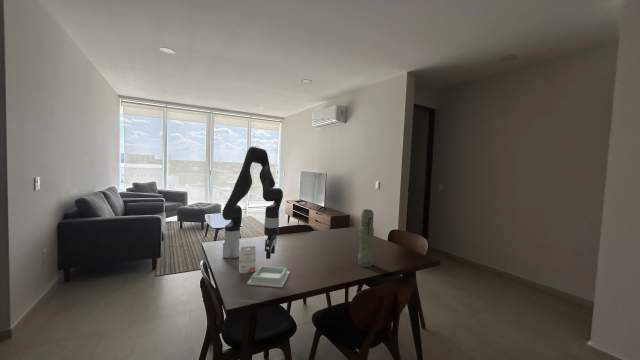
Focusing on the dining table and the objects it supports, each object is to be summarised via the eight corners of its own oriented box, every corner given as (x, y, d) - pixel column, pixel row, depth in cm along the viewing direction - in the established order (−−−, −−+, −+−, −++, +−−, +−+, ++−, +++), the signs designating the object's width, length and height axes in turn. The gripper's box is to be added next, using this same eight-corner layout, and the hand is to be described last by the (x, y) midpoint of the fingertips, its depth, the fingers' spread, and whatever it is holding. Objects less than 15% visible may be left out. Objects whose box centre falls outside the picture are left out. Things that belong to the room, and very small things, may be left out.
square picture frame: (247, 284, 132) (247, 277, 132) (258, 270, 150) (258, 264, 150) (282, 287, 130) (282, 280, 130) (289, 273, 148) (289, 267, 148)
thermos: (366, 260, 175) (368, 208, 173) (375, 267, 164) (378, 211, 162) (354, 261, 172) (357, 208, 170) (363, 268, 161) (366, 211, 159)
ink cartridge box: (253, 268, 152) (254, 243, 152) (255, 272, 148) (256, 246, 147) (238, 270, 149) (239, 244, 148) (239, 273, 144) (240, 247, 144)
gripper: (268, 222, 146) (267, 251, 147) (260, 228, 132) (259, 260, 133) (281, 223, 146) (280, 252, 146) (275, 229, 131) (274, 261, 132)
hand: (270, 256), depth 139 cm, fingers open, 8 cm apart
